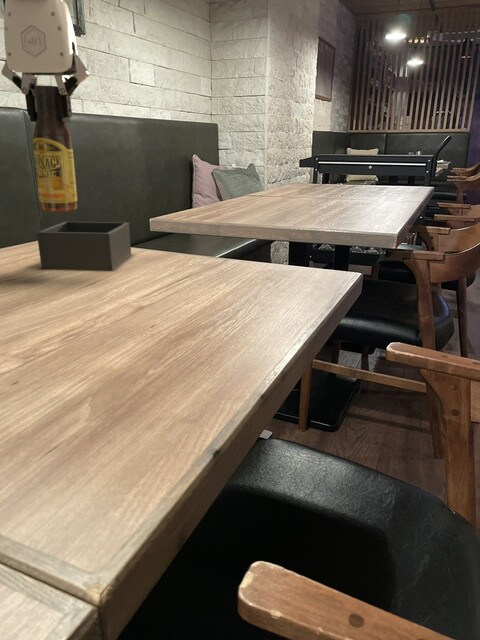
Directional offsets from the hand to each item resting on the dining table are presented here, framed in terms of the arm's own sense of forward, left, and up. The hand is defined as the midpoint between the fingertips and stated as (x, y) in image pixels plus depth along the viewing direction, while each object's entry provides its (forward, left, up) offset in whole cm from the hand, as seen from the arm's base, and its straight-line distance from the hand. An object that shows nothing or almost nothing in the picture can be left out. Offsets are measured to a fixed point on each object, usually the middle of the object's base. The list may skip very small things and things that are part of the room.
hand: (50, 120), depth 81 cm
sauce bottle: (0, 0, -15) cm, 15 cm away
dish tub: (-2, +15, -28) cm, 32 cm away
